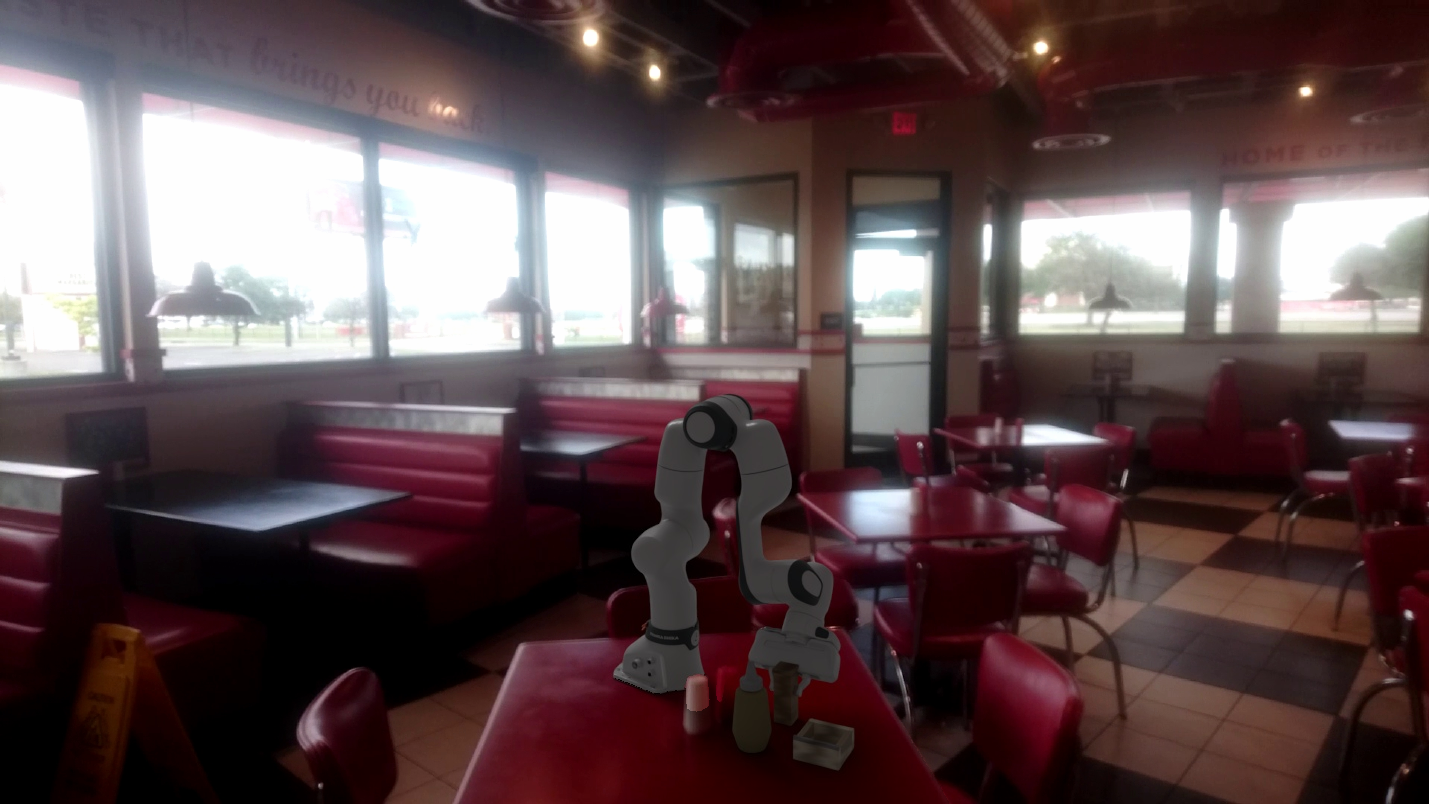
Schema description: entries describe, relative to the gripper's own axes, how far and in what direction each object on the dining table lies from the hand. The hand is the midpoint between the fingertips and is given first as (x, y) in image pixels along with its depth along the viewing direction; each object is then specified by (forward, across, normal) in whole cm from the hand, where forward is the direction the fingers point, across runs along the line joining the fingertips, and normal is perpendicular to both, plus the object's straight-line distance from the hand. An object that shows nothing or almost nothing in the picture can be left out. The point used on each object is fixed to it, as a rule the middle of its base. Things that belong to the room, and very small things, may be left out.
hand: (784, 692), depth 175 cm
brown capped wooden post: (+4, 0, +5) cm, 6 cm away
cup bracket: (+10, +12, -1) cm, 16 cm away
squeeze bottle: (+13, -2, -4) cm, 14 cm away
